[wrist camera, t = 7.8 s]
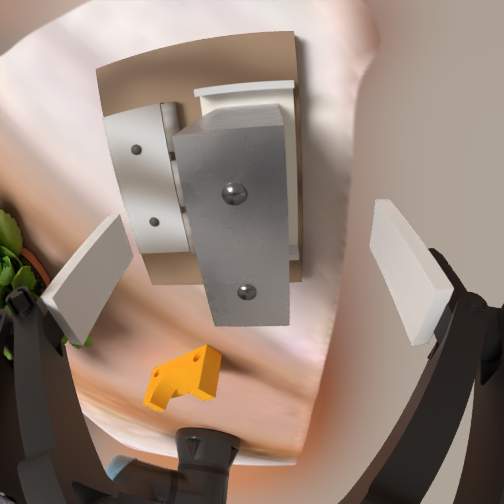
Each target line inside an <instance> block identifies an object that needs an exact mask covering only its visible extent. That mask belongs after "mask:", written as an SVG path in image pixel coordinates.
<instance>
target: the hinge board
mask: <svg viewBox="0 0 504 504" xmlns="http://www.w3.org/2000/svg"><path fill="white" fill-rule="evenodd" d="M96 75H97V82H98V88H99V94H100V100H101V106H102V111H103V116H104V118H103V123H104V128H105V133H106V137H107V142H108V146H109V150H110V155H111V159H112V163H113V167H114V171H115V174H116V178H117V182H118V186H119V189H120V193H121V196H122V200H123V203H124V206H125V210H126V213H127V216H128V219H129V223H130V226H131V229H132V232H133V235H134V238H135V241H136V244H137V247H138V250H139V252H140V254H141V255H142V258H143V260H144V263H145V266H146V269H147V271H148V274H149V277H150V279H151V282H152V285H197V284H204V283H203V279H202V275H201V271H200V267H199V263H198V259H197V255H196V251H195V246H194V242H193V238H192V234H191V229H190V225H189V220H188V216H187V211H186V206H185V202H184V197H183V192H182V187H181V182H180V177H179V172H178V167H177V162H176V156H175V151H174V145H173V140H172V136H173V135H175V134H176V133H178V132H179V131H181V130H182V129H184V128H185V127H187V126H188V125H190V124H191V123H193V122H195V121H196V120H198V119H199V118H201V117H202V110H201V102H200V96H198V97H195V95H194V89H199V88H206V87H212V86H220V85H228V84H238V83H248V82H262V81H281V80H294V88H293V97H294V114H295V134H296V159H297V196H298V250H299V260H289V282H302V234H303V204H302V151H301V125H300V105H299V88H298V74H297V61H296V49H295V38H294V31H279V32H260V33H247V34H237V35H229V36H221V37H214V38H208V39H202V40H196V41H191V42H186V43H181V44H177V45H172V46H168V47H164V48H160V49H156V50H152V51H149V52H145V53H142V54H138V55H135V56H132V57H129V58H126V59H122V60H119V61H117V62H114V63H111V64H108V65H105V66H103V67H100V68H97V69H96Z"/></svg>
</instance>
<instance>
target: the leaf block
mask: <svg viewBox="0 0 504 504" xmlns="http://www.w3.org/2000/svg"><path fill="white" fill-rule="evenodd" d="M172 140H173V145H174V151H175V156H176V162H177V167H178V172H179V177H180V182H181V187H182V192H183V197H184V202H185V206H186V211H187V216H188V220H189V225H190V229H191V234H192V238H193V242H194V246H195V251H196V255H197V259H198V263H199V267H200V271H201V275H202V279H203V283H204V287H205V291H206V295H207V299H208V303H209V306H210V310H211V314H212V317H213V321H214V325H215V326H288V325H289V228H288V196H287V171H286V151H285V133H284V123H283V120H282V116H281V113H280V109H279V106H278V103H270V104H255V105H242V106H232V107H223V108H216V109H214V110H212V111H211V112H209V113H207V114H206V115H204V116H202V117H201V118H199V119H198V120H196V121H195V122H193V123H191V124H190V125H188V126H187V127H185V128H184V129H182V130H181V131H179V132H178V133H176V134H175V135H173V136H172Z"/></svg>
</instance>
